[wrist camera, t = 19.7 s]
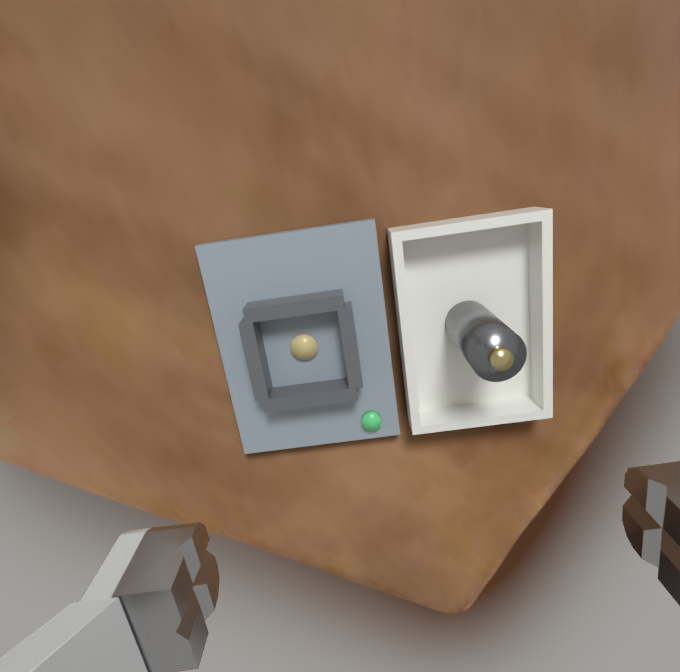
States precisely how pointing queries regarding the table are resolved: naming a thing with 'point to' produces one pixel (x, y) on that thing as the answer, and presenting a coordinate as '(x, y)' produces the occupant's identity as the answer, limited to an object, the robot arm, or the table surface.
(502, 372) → the cell
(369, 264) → the tester cradle
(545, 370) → the tray
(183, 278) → the table surface
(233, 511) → the table surface
